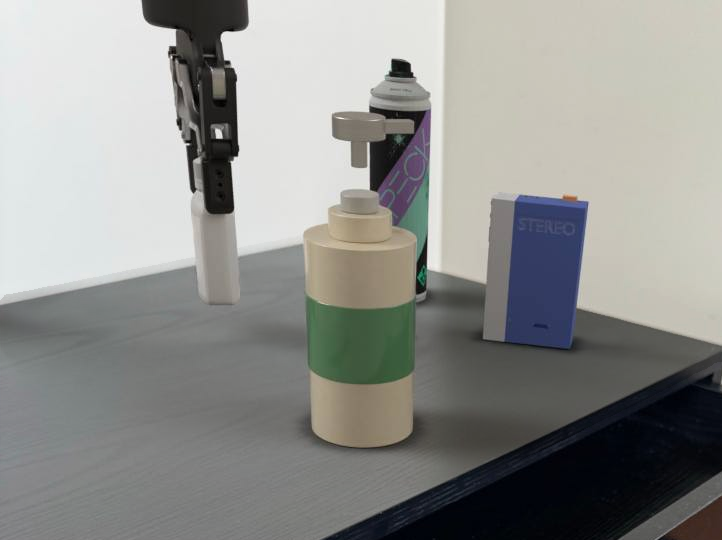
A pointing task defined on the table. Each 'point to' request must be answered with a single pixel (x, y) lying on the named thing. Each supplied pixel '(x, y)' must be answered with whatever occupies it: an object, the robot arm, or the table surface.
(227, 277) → the eye dropper bottle
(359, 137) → the pump
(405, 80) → the spray can
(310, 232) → the soap bottle
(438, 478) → the table surface
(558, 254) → the walkman
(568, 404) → the table surface
